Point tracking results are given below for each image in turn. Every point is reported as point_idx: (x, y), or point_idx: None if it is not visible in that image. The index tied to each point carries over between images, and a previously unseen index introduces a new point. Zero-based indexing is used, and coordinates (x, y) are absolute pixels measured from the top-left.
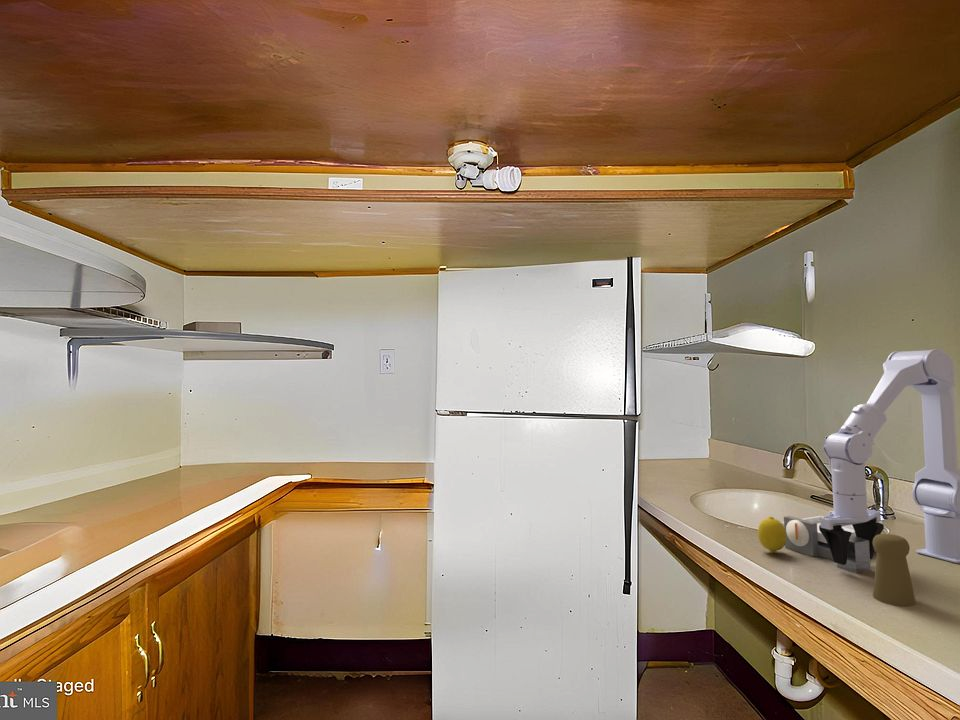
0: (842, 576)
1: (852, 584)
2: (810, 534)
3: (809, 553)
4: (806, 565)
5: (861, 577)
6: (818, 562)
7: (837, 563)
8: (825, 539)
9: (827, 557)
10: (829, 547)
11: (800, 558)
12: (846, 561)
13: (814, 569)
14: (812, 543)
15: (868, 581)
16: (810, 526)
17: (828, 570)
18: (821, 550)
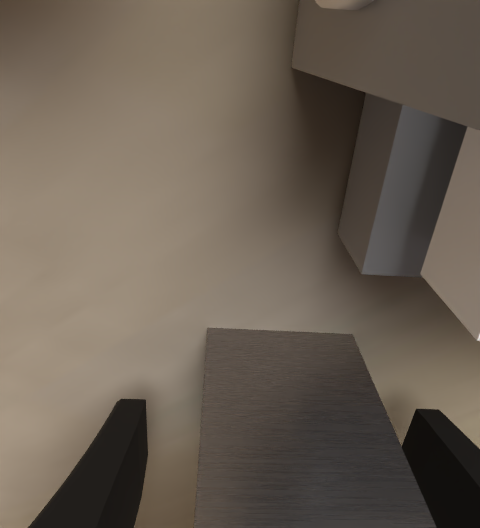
0: (80, 425)
1: (27, 495)
2: (365, 43)
3: (300, 14)
4: (17, 200)
5: (166, 467)
6: (181, 200)
7: (206, 350)
8: (475, 199)
9: (352, 176)
10: (50, 501)
11: (126, 28)
12: (142, 480)
13: (7, 286)
14: (320, 74)
15: (143, 501)
16: (441, 70)
17: (90, 339)
18: (384, 121)
